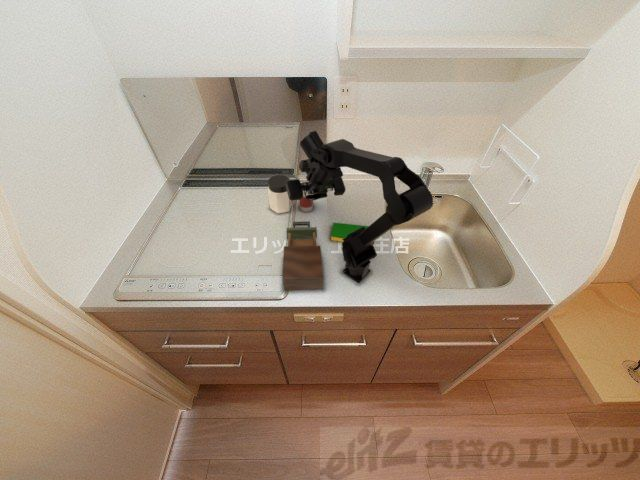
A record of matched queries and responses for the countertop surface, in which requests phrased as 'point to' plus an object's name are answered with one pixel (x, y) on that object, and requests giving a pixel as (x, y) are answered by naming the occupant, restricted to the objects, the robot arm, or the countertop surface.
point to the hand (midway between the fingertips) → (309, 200)
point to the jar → (278, 194)
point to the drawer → (302, 235)
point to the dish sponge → (343, 230)
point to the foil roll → (305, 204)
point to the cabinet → (302, 268)
